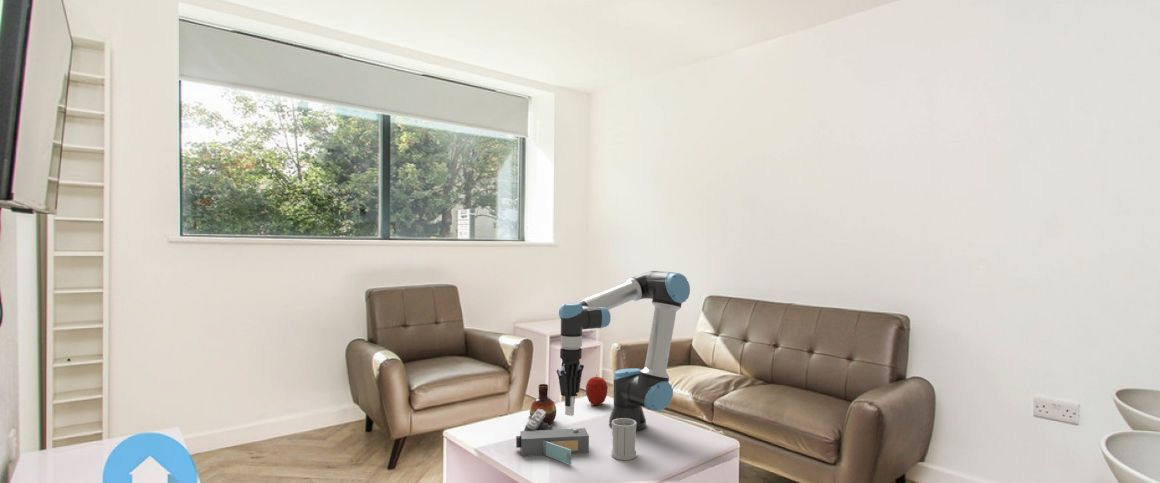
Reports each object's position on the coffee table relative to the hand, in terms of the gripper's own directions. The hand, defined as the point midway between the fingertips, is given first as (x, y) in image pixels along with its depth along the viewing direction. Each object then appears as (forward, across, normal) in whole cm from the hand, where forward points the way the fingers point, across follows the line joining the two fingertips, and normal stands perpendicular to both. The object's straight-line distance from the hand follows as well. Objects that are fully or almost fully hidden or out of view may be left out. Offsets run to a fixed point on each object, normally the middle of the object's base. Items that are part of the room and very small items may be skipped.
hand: (569, 414), depth 194 cm
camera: (+15, -8, -21) cm, 27 cm away
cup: (+15, -14, +14) cm, 25 cm away
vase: (+15, -23, -31) cm, 42 cm away
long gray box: (+15, -2, -8) cm, 17 cm away
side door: (+15, +4, -2) cm, 16 cm away
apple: (+15, -57, -28) cm, 65 cm away
